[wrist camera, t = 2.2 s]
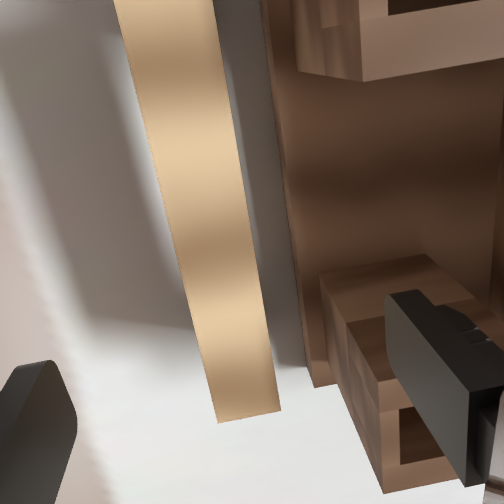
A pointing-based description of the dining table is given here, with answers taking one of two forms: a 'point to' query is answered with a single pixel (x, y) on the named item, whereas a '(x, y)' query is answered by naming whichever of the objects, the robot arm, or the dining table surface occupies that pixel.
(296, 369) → the dining table surface
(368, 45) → the wooden pen holder stand
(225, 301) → the oak rail
